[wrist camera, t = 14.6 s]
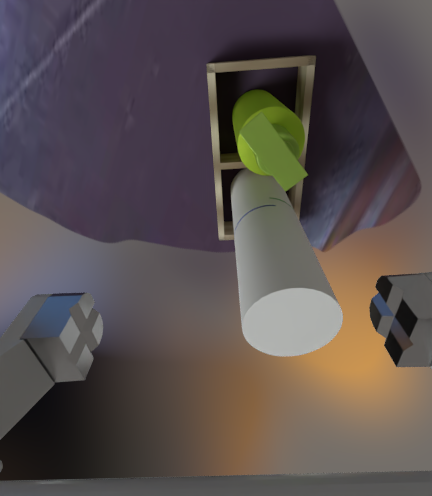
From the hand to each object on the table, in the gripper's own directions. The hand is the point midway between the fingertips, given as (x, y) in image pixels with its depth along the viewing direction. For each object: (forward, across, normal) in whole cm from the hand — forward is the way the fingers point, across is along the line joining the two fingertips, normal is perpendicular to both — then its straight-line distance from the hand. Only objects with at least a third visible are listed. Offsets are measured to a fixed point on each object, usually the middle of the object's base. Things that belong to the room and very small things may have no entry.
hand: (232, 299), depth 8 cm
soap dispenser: (+33, -4, +1) cm, 34 cm away
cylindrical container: (+33, -4, +11) cm, 35 cm away
